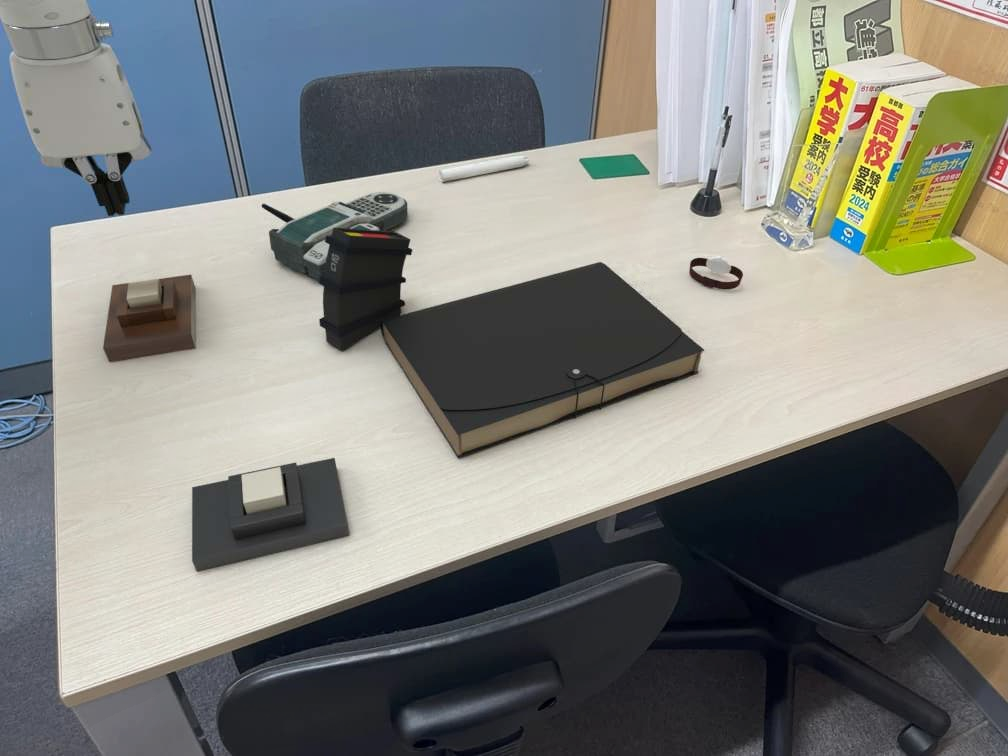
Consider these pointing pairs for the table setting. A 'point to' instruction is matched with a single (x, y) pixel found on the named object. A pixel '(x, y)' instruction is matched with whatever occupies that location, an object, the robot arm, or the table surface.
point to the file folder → (536, 354)
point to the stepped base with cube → (267, 516)
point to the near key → (263, 490)
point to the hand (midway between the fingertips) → (117, 209)
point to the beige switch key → (144, 293)
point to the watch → (716, 272)
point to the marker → (482, 168)
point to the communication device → (331, 228)
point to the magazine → (361, 282)
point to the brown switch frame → (151, 321)
